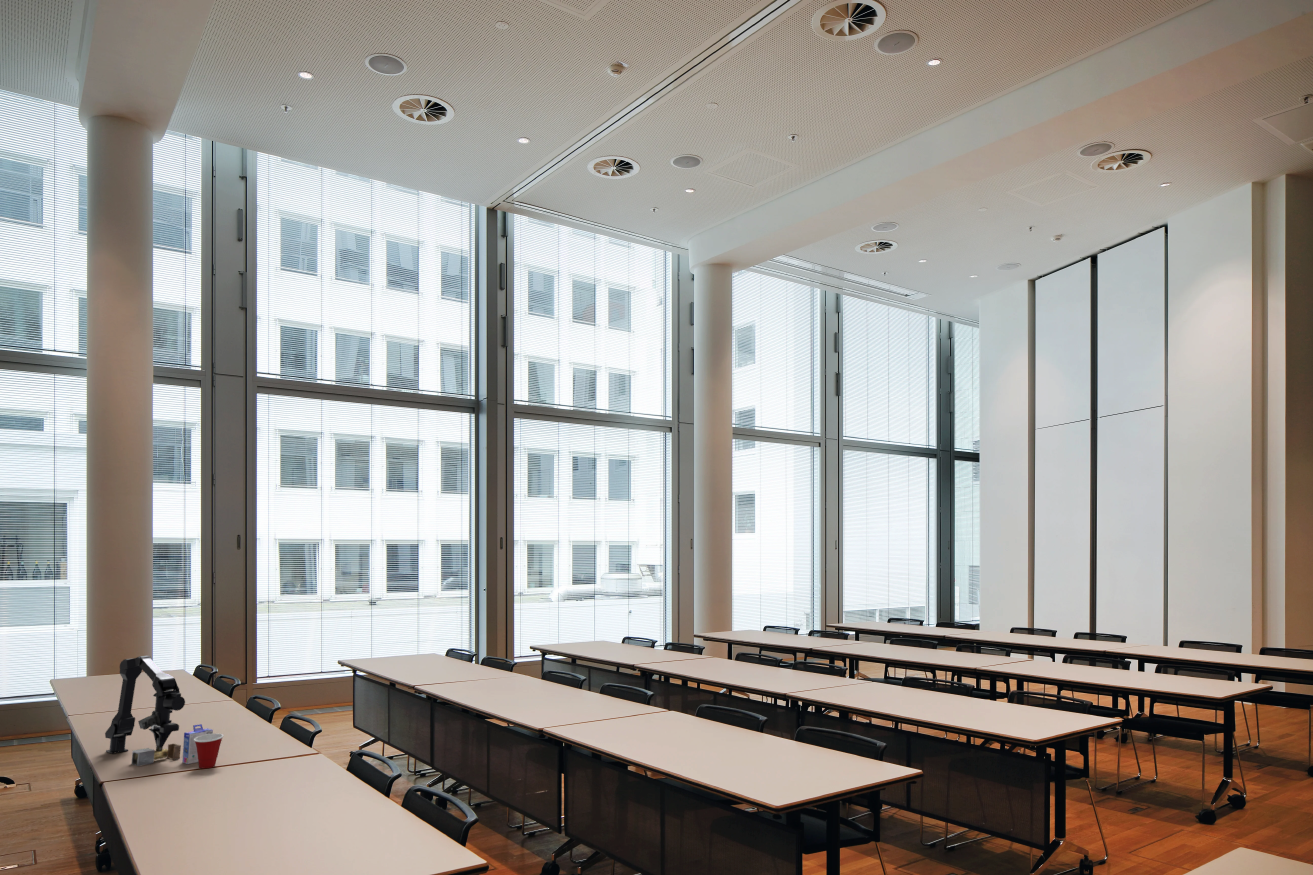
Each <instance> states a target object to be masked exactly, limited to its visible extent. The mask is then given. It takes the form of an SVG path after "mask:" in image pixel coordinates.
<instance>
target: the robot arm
mask: <svg viewBox="0 0 1313 875" xmlns="http://www.w3.org/2000/svg"><path fill="white" fill-rule="evenodd" d="M142 672H144V673H145V674H146V675H147V677H148V678H149V679H150V680H151V681H152V684H151V686H152V687H153V689H154V691H155V693H154V694H153V695H152V696H153V697H155V704H154V705H155V708H154V710H152V711H151V715H148V716H146V717H145V718H142V719H140V720H138V726H139V728H140V729H141V730H149V731H150V733H152V734H153V737H154V741H155V744H156V743H157V738H159V747H164V746H165V743H166V742H167V740H168V738H169V737H170V735H171V734H172V733H173V732H177V731H179V730H180V725H179V724H178V723H175V722H173V721H172V719H171V714H172V713H173V711H175V712H177V711H180V710H182V709H183V708H184V707H185V705H186V700H185V698H184V697H183V696H182V693H181V692H180V687H179V685H178V684H177V680H176V678H175V677H174V676H173V675H171V674H168V673H166V672H164V671H163V670H162V668H160V667H159V666H158V664H156V663H155V662H154V661H153V660H152V657H151V655H140V656H137V657H133V658H124V659H123V660H122V661H120V663H119V675H120V676H121V678H122V681H121V682H122V684H121V689H120V695H119V703H118V709H117V712H116V714H115V715H114V717H113V718H112V720H111V723H110V725H109V727H108V728H107V730H106V731H105V732H104V736H105V739H109V740H110V741H109V749H106V750H105V752H107V753H108V754H109V753H110V754H117V753H118V754H119V753H123V752H128V751H129V749H127V748H126V743H127V742H126V741H127V736H129V737H130V736H132V734H133V732H134V728H135V723H136V717H134V716H133V714H132V708H133V701H134V695H135V688H136V681H137V679H138V677H139V676H140V675H141V673H142Z"/></svg>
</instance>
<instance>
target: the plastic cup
mask: <svg viewBox="0 0 1313 875" xmlns="http://www.w3.org/2000/svg"><path fill="white" fill-rule="evenodd" d="M223 738H224V733H223V734H222V733H217V732H216V733H213V734H206V735H202V736H198V737H196V738H194V741H195V743H196V747H197V755H198V762H197V763H198V768H199V769H211V768H214V767H215V766H216V763H217V759H218V757H219V756H218V755H219V753H220V746H221V744H222V741H223Z"/></svg>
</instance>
